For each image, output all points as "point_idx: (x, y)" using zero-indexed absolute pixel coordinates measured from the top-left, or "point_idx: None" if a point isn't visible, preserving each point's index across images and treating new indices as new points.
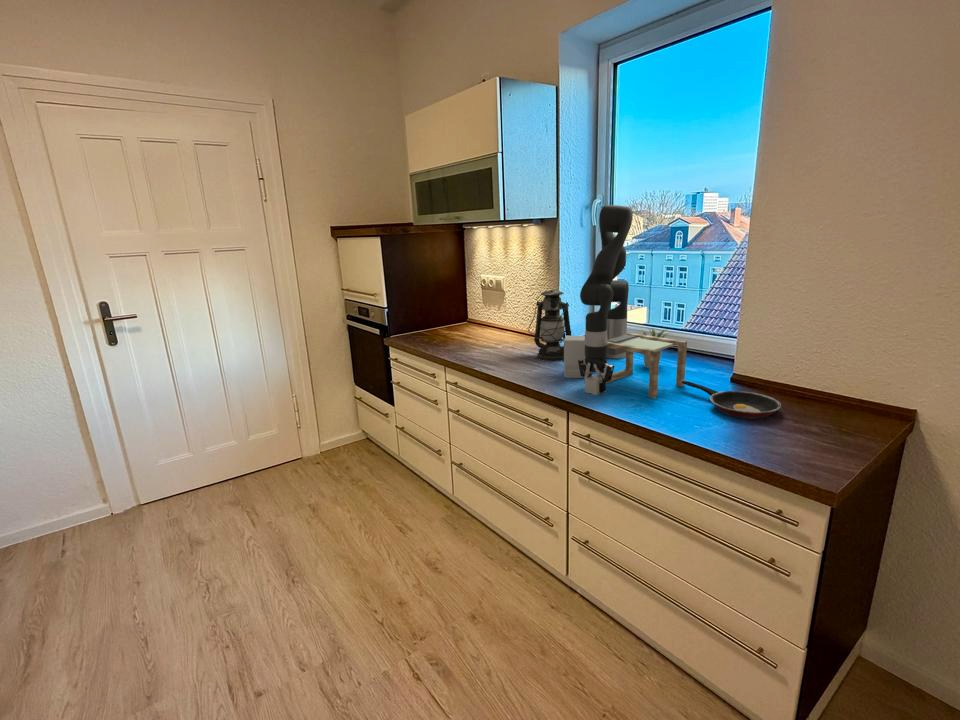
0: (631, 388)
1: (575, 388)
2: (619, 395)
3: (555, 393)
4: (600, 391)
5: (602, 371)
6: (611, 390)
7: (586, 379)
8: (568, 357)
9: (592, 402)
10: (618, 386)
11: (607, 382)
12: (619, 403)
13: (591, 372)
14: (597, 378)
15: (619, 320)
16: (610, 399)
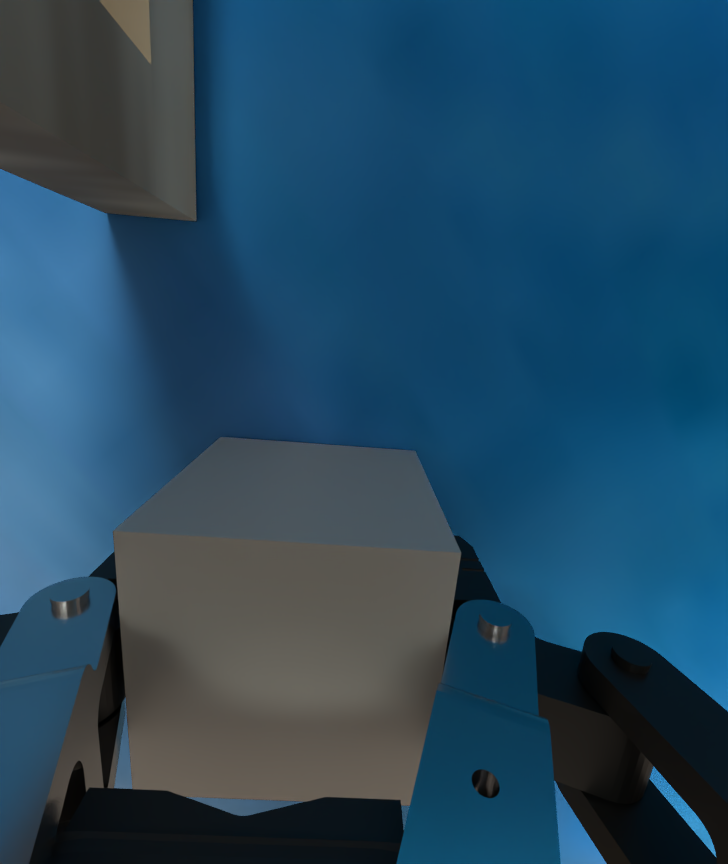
0: (660, 54)
1: (39, 570)
2: (625, 461)
3: None
4: None
5: (450, 809)
6: (447, 351)
7: (174, 777)
8: None
9: None
10: (437, 97)
11: (190, 40)
12: (722, 669)
13: (94, 767)
14: (328, 676)
15: None
16: (592, 630)
